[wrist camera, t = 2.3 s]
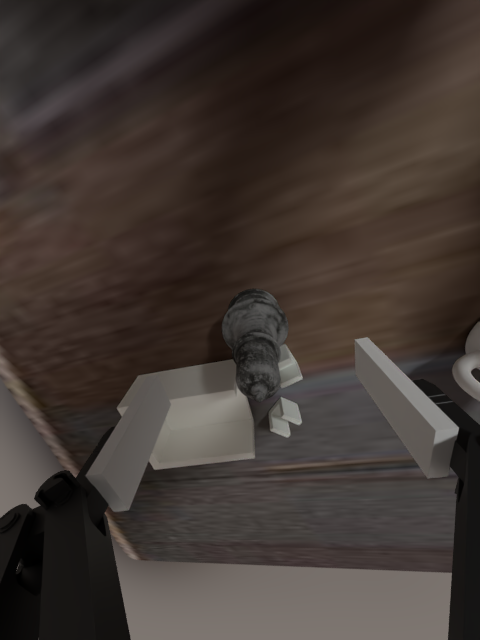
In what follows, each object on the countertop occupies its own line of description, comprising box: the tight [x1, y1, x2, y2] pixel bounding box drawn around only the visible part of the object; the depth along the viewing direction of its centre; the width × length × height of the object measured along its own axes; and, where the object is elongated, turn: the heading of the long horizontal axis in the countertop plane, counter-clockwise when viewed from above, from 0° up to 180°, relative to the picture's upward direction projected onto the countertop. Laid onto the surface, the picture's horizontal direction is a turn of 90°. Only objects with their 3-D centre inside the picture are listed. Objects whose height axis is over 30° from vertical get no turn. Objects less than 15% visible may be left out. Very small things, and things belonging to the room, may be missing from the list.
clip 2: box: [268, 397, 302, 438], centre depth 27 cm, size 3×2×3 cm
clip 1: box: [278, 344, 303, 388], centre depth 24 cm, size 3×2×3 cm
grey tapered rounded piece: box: [222, 289, 289, 403], centre depth 18 cm, size 6×6×12 cm
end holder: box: [117, 359, 255, 470], centre depth 26 cm, size 10×12×5 cm
